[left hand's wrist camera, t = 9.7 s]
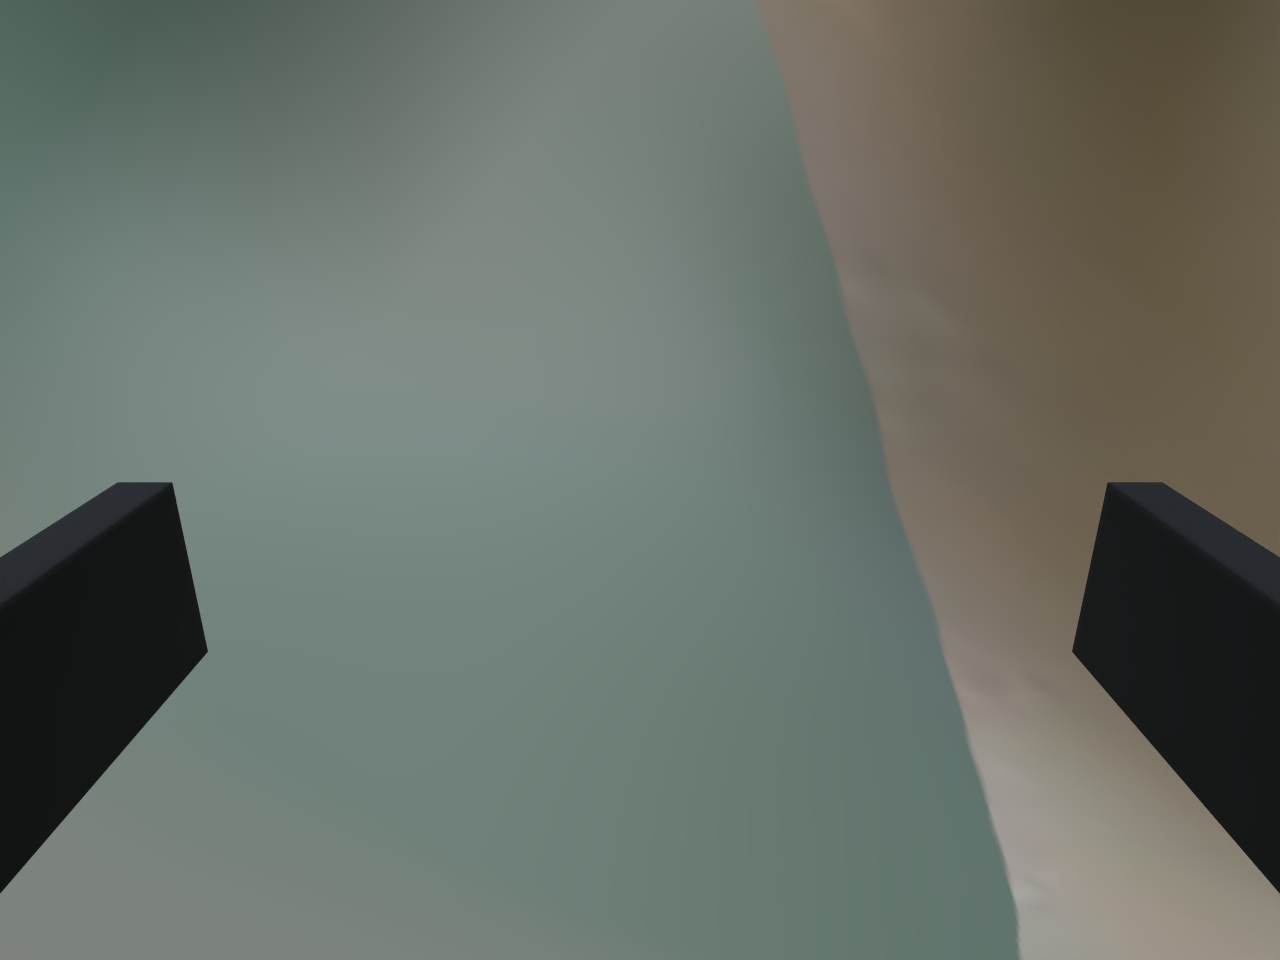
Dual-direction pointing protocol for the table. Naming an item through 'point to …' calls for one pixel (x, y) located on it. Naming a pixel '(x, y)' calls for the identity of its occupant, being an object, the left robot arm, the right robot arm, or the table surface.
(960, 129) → the table surface
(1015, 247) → the table surface
